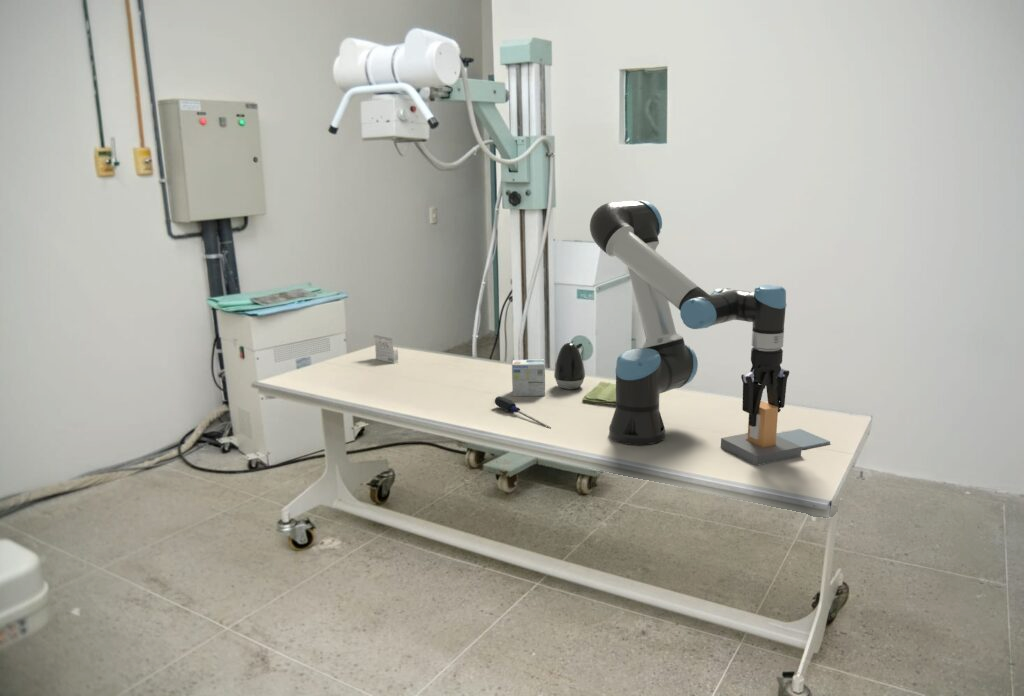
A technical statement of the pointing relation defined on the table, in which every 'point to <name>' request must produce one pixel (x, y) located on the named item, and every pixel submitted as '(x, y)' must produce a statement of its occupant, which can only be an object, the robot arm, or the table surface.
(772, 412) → the plug
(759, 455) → the gray slotted square plate
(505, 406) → the screwdriver
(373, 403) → the table surface
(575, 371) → the pump dispenser
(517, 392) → the light bulb box
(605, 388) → the washcloth
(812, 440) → the rubber mat
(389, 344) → the ink cartridge box
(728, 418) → the table surface
